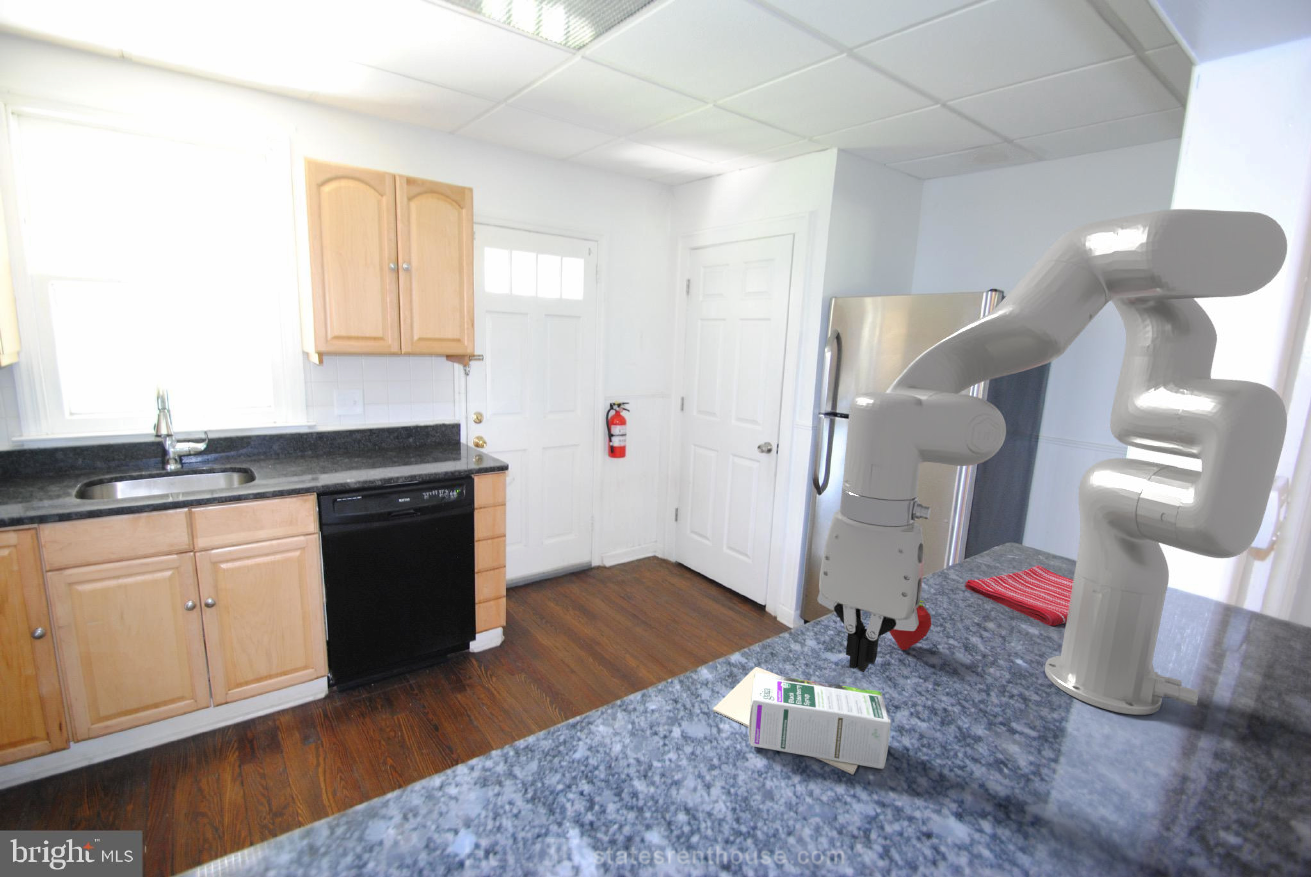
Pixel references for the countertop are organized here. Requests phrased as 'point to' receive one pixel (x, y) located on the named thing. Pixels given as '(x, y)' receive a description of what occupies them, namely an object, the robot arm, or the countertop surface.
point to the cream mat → (739, 710)
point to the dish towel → (1029, 593)
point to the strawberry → (912, 637)
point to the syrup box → (819, 720)
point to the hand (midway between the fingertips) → (860, 664)
